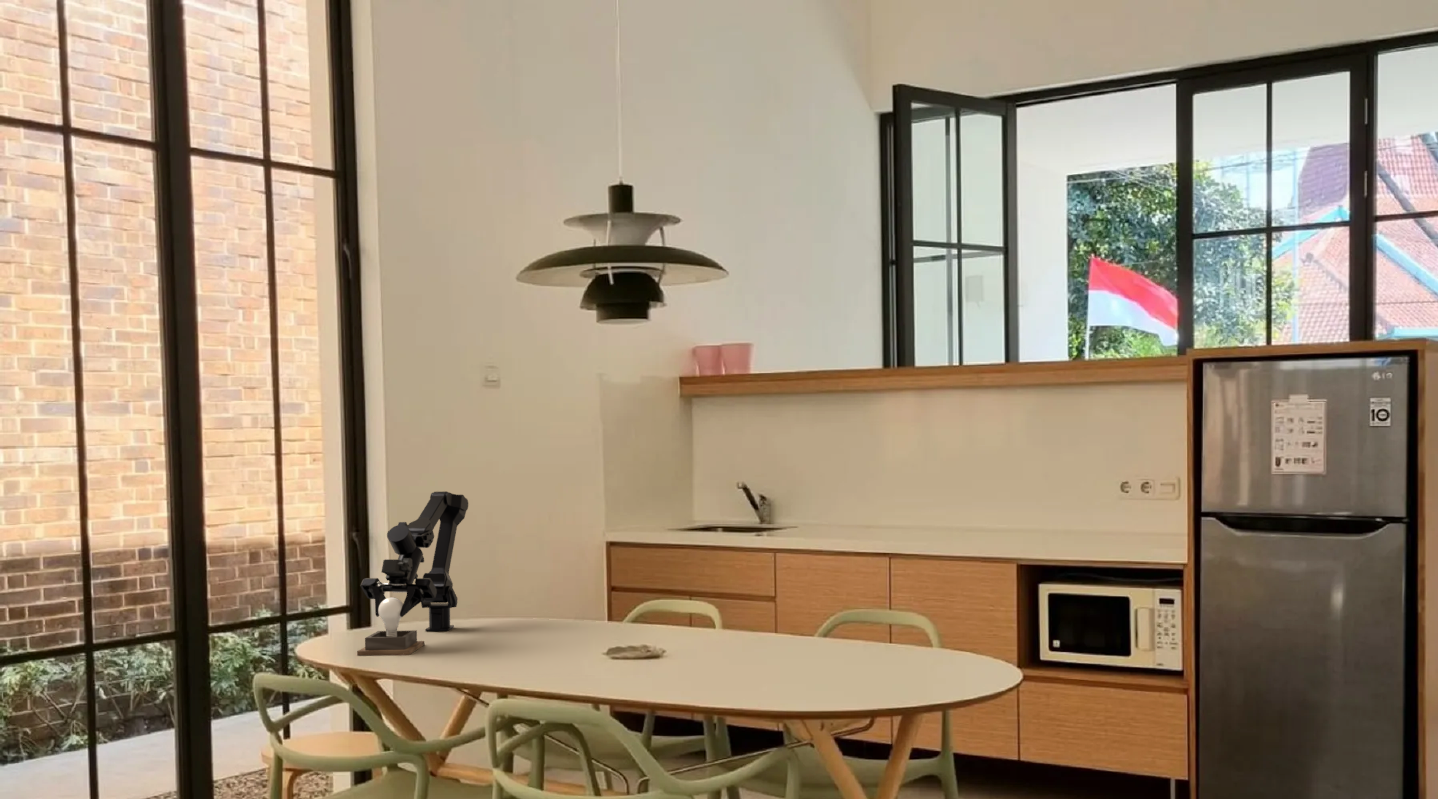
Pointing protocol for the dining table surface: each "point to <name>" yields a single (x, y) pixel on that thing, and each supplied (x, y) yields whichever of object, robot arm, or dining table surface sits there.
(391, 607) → the lightbulb
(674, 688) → the dining table surface
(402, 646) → the socket block
